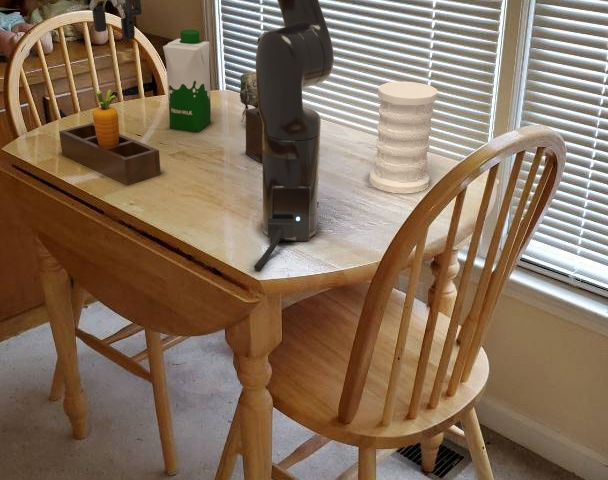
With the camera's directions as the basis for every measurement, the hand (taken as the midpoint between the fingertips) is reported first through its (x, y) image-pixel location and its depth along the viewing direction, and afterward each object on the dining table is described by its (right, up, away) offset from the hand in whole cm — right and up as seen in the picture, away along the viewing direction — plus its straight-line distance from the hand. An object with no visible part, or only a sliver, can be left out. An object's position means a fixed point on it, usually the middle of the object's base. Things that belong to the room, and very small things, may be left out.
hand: (114, 35), depth 150 cm
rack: (-4, -22, +11) cm, 25 cm away
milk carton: (+9, -9, +33) cm, 35 cm away
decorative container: (+54, -26, +8) cm, 60 cm away
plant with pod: (+25, -8, +34) cm, 44 cm away
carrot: (-3, -22, +11) cm, 25 cm away
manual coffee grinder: (+31, -20, +16) cm, 40 cm away
